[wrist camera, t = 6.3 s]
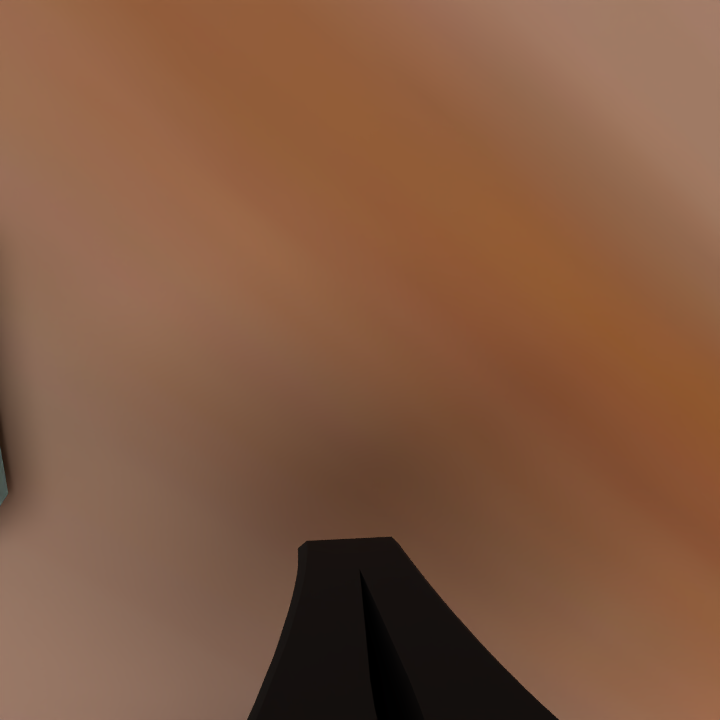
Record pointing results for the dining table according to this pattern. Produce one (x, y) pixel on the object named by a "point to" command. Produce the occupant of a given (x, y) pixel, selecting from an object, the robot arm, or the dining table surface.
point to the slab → (2, 481)
